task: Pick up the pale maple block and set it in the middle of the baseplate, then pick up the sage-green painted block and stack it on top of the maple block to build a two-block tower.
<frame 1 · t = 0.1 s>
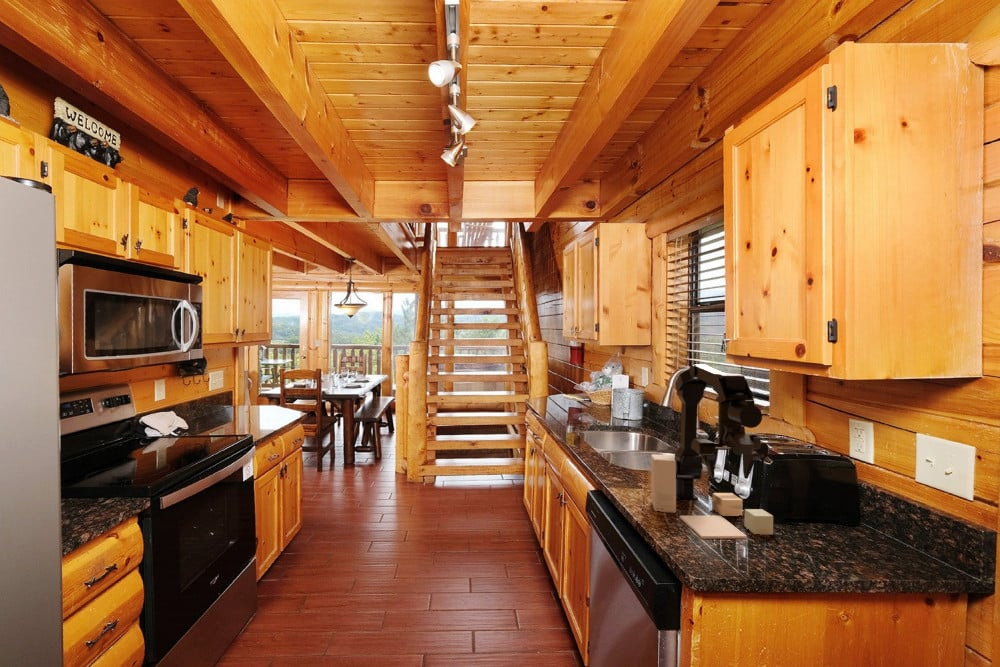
hand: (729, 478, 129), 15 cm above the worktop, tool pointing down, fingers open, 9 cm apart
skincare box: (662, 508, 147), on the worktop
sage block: (758, 530, 131), on the worktop
maple block: (727, 513, 144), on the worktop
baseplate: (711, 527, 132), on the worktop
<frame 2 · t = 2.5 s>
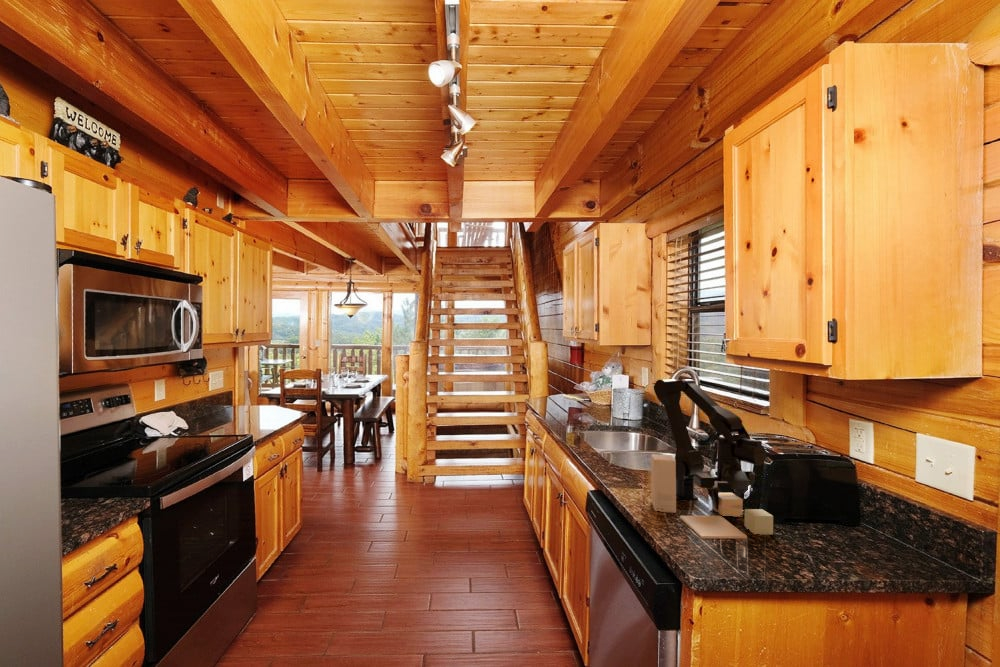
hand: (727, 509, 144), 1 cm above the worktop, tool pointing down, fingers closed on maple block, 6 cm apart
maple block: (727, 512, 144), on the worktop, touching gripper
everything else where it was.
when the fingers open (3 cm above the worktop, at t = 7.0 s): maple block drops 1 cm, resting on baseplate.
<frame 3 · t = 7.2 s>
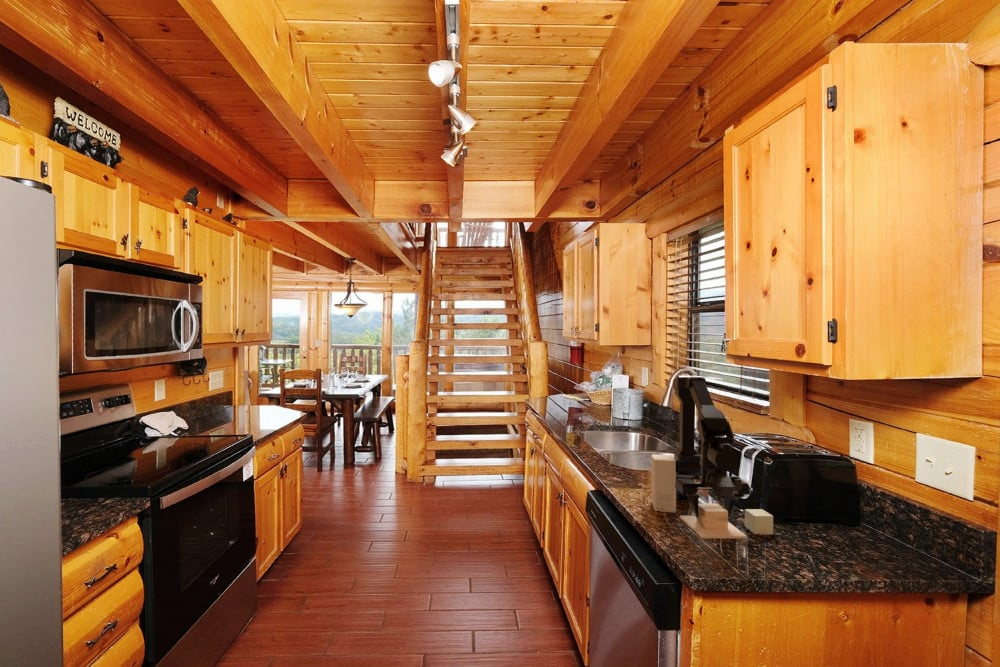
hand: (711, 517, 132), 3 cm above the worktop, tool pointing down, fingers open, 8 cm apart
maple block: (711, 525, 132), point 1 cm above the worktop, touching baseplate
everything else where it was.
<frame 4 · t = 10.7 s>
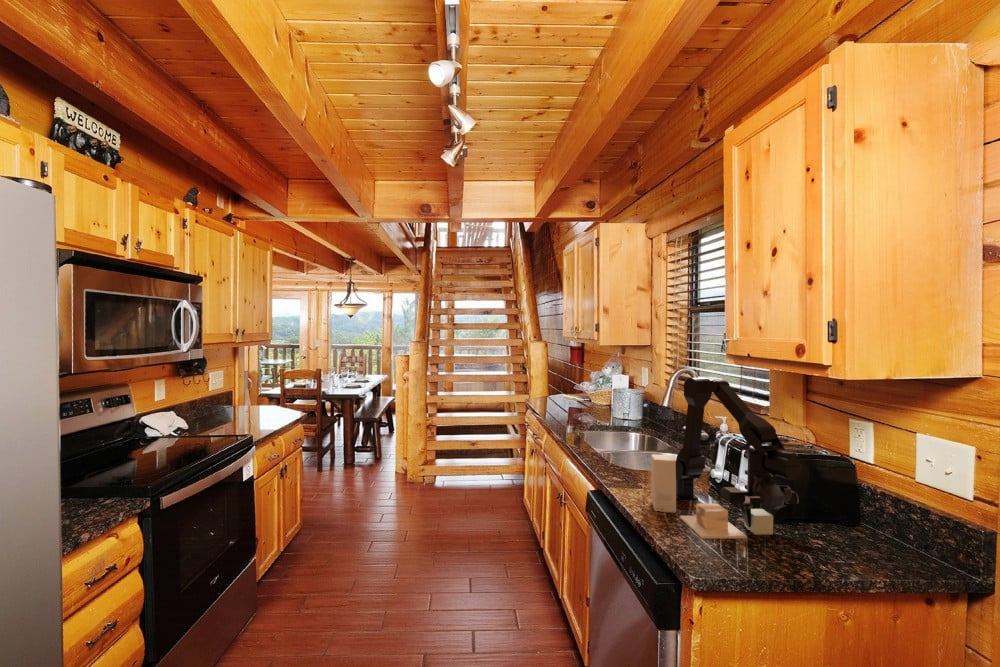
hand: (758, 526, 131), 1 cm above the worktop, tool pointing down, fingers closed on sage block, 5 cm apart
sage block: (758, 530, 131), on the worktop, touching gripper
everything else where it was.
when the fingers open (8 cm above the worktop, at t = 14.2 s): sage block drops 1 cm, resting on maple block.
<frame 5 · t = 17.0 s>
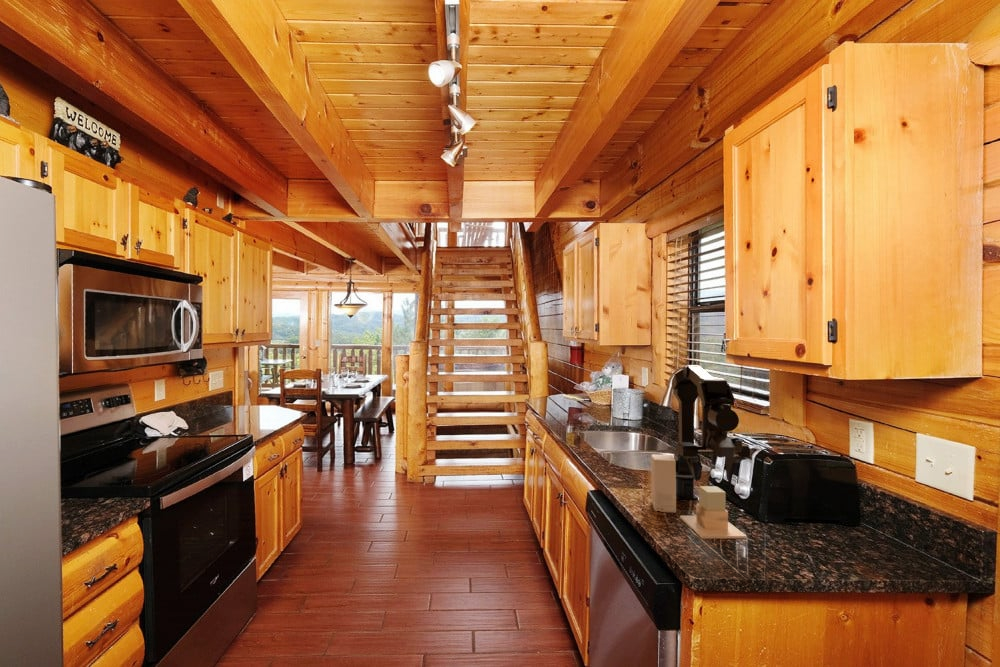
hand: (712, 480, 132), 13 cm above the worktop, tool pointing down, fingers open, 9 cm apart
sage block: (711, 507, 132), point 6 cm above the worktop, touching maple block
maple block: (711, 525, 132), point 1 cm above the worktop, touching baseplate, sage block
everything else where it was.
at the end: maple block 0.0 cm off-centre on the baseplate, point 0.6 cm above the baseplate's base; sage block 0.0 cm off-centre on the maple block, point 5.0 cm above the maple block's base; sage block tilted 0° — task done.
